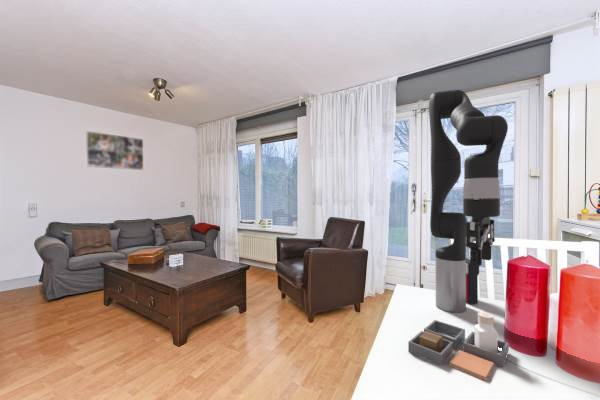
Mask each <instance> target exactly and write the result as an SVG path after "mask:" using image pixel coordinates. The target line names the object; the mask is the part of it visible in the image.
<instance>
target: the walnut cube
mask: <svg viewBox="0 0 600 400" xmlns="http://www.w3.org/2000/svg"><path fill="white" fill-rule="evenodd" d="M423 332H424V331H423ZM419 345H421V346H423V347H426V348H428V349H431V350H433V351H436V352H438V353H441V352H442V351H443V349H442V336H439V335H436V334H433V333H431V332H428V331H425V332H424V333H423V334H421V335H420V336H419Z"/></svg>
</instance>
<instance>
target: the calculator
mask: <svg viewBox="0 0 600 400" xmlns="http://www.w3.org/2000/svg"><path fill="white" fill-rule="evenodd" d="M479 274H480V266H475V265H471V264H470V258H467V257H466V304H468V305H478V303H479V301H478V300H479V299H478V297H479V293H478V289H479V288H478V286H479V283H478V277H479Z"/></svg>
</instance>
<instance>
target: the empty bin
mask: <svg viewBox="0 0 600 400" xmlns="http://www.w3.org/2000/svg"><path fill="white" fill-rule="evenodd" d="M425 331H428V332H431V333H433V334H436V335H439V336H442V338H443V339H446V340H448V341H451V342H453V350H454V351H455V350H457V349H458V347H459V346H460V345H461V344H463V342H464V341H465V340H466V329H465V328H462V327H458V326H455V325H453V324H452V325H451V324H449V323H445V322H443V321H439V320H436V319H434V320H433V321H432V322H430V323H429V324H428V325H427V326H426V327H424V329H423V332H425ZM436 331H438V332H436ZM439 332H442V333H444V334H445V335H444V334H442V333H439ZM446 334H448V335H451V336H454V337H450V336H448V335H446Z"/></svg>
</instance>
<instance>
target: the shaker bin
mask: <svg viewBox="0 0 600 400" xmlns="http://www.w3.org/2000/svg"><path fill="white" fill-rule="evenodd" d="M509 345H510V343H508V342H506V341H502V340H500V339H498V347H499V348H502V351H500V353H498V354H497V353H494V352H491V351H488V350H485V349H483V348H480V347H477V346H475V331H471V332H470V334H469V335H468V336H467V337H465V339H464V340H463V341H462V351H463V352H466V353H469V354H472V355H474V356H477V357H480V358H482V359H485V360H488V361H490V362H493V363H494V366H497V367H500V368H503V366H504V363H505V362H506V359H507V358H506V355H507V353H508V351H509V349H510V348H509V347H510V346H509ZM509 352H510V351H509Z"/></svg>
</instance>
